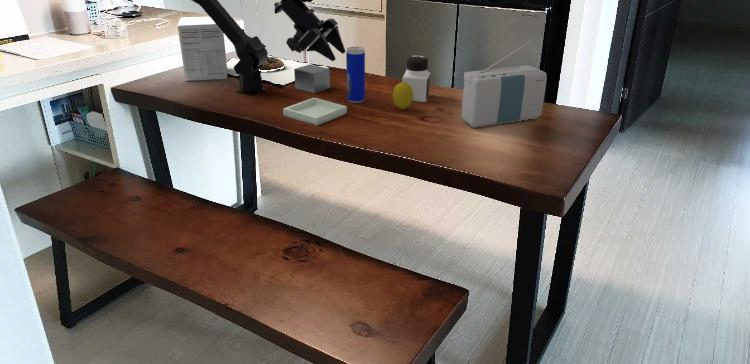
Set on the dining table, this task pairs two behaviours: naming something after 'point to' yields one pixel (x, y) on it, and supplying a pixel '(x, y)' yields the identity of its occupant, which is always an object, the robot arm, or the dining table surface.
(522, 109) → the stereo radio cassette player
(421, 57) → the medicine bottle
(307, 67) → the box
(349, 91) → the beverage can
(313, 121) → the tray
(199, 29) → the supplement box
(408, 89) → the lemon
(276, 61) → the bread roll
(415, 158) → the dining table surface
